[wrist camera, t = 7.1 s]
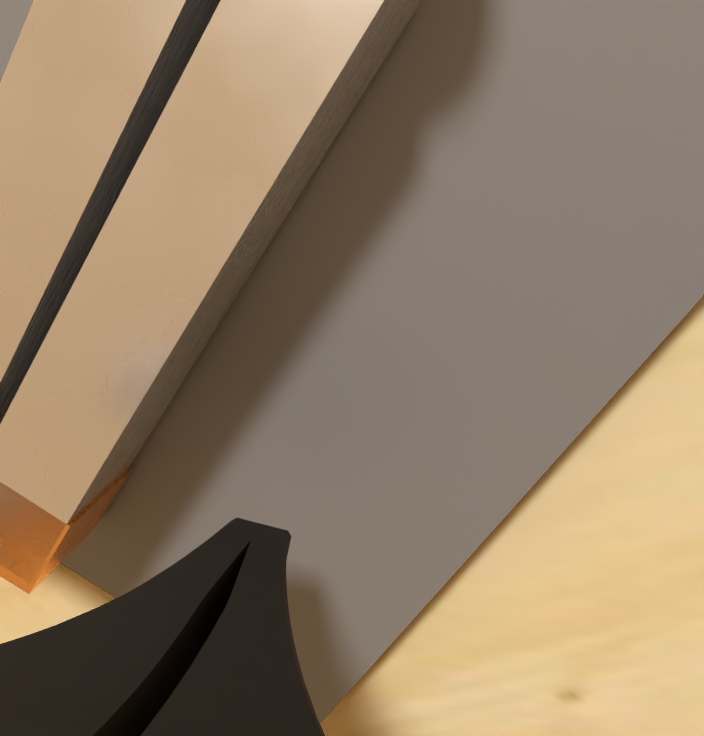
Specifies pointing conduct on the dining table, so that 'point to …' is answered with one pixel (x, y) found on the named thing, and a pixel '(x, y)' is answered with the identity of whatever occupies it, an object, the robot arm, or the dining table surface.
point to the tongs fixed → (75, 145)
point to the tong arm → (177, 255)
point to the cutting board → (432, 312)
